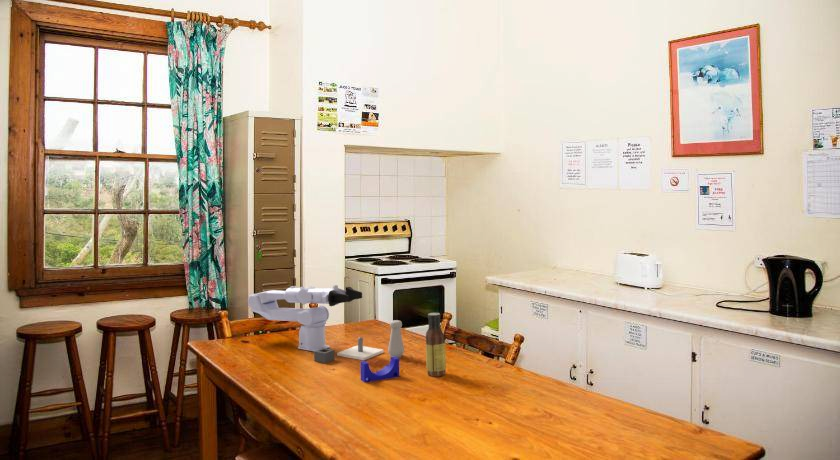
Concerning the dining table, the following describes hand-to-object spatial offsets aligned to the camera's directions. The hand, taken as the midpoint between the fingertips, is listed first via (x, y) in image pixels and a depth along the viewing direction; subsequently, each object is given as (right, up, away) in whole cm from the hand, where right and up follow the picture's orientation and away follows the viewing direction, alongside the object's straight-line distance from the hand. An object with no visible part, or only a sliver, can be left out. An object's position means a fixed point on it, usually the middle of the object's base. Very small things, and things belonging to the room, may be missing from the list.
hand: (355, 296), depth 204 cm
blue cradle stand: (+10, -23, -22) cm, 34 cm away
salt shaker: (+15, -22, +1) cm, 26 cm away
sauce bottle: (+28, -23, -19) cm, 41 cm away
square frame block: (-10, -22, -4) cm, 25 cm away
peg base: (+2, -21, +4) cm, 22 cm away
